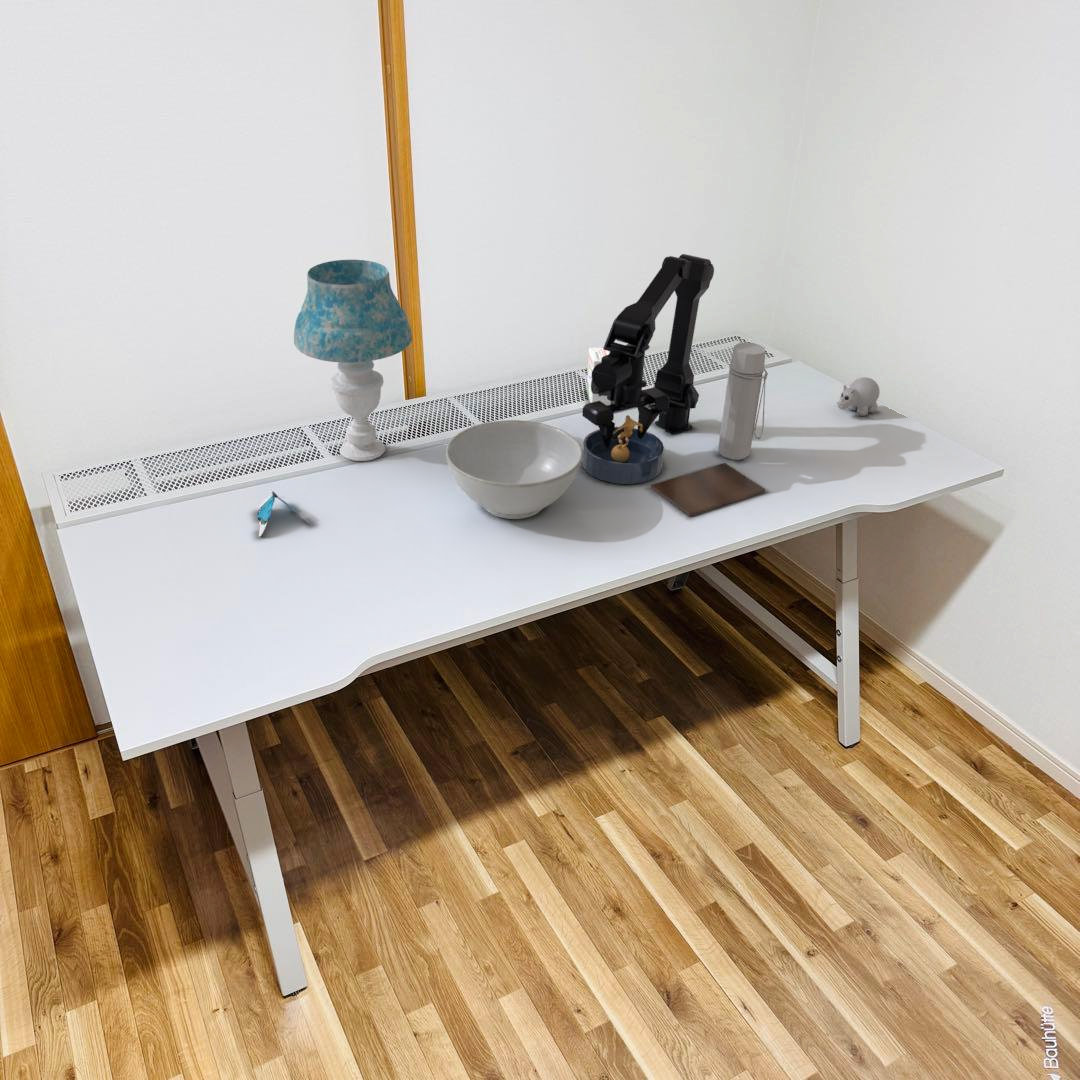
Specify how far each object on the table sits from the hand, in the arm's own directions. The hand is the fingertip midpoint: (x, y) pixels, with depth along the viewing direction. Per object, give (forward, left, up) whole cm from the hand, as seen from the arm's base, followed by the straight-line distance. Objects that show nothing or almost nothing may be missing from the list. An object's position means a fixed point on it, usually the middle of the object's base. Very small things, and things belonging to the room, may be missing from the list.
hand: (623, 442), depth 211 cm
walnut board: (-10, +17, -6) cm, 21 cm away
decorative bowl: (+28, +2, -6) cm, 29 cm away
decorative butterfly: (+71, -15, -6) cm, 73 cm away
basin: (0, 0, -6) cm, 6 cm away
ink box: (-15, -31, -6) cm, 34 cm away
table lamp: (+46, -33, -6) cm, 57 cm away
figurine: (0, 0, -6) cm, 6 cm away
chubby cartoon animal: (-65, +5, -6) cm, 65 cm away
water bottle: (-26, +8, -6) cm, 27 cm away
